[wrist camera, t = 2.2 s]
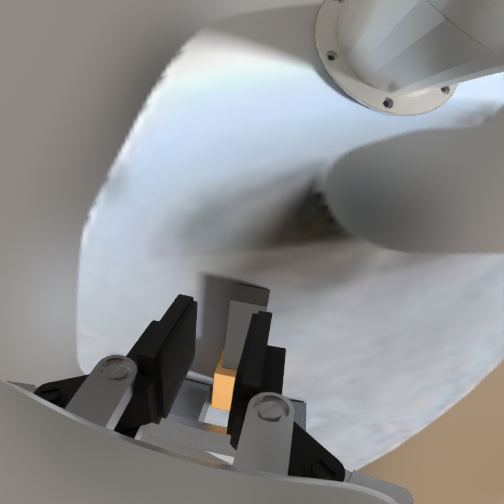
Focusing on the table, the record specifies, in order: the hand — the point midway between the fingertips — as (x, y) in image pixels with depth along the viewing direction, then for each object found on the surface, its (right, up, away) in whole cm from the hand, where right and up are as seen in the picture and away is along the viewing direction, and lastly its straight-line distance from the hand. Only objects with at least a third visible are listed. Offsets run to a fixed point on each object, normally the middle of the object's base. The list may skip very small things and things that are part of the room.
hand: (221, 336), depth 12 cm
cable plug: (0, -6, +18) cm, 19 cm away
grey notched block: (-1, -14, +22) cm, 26 cm away
